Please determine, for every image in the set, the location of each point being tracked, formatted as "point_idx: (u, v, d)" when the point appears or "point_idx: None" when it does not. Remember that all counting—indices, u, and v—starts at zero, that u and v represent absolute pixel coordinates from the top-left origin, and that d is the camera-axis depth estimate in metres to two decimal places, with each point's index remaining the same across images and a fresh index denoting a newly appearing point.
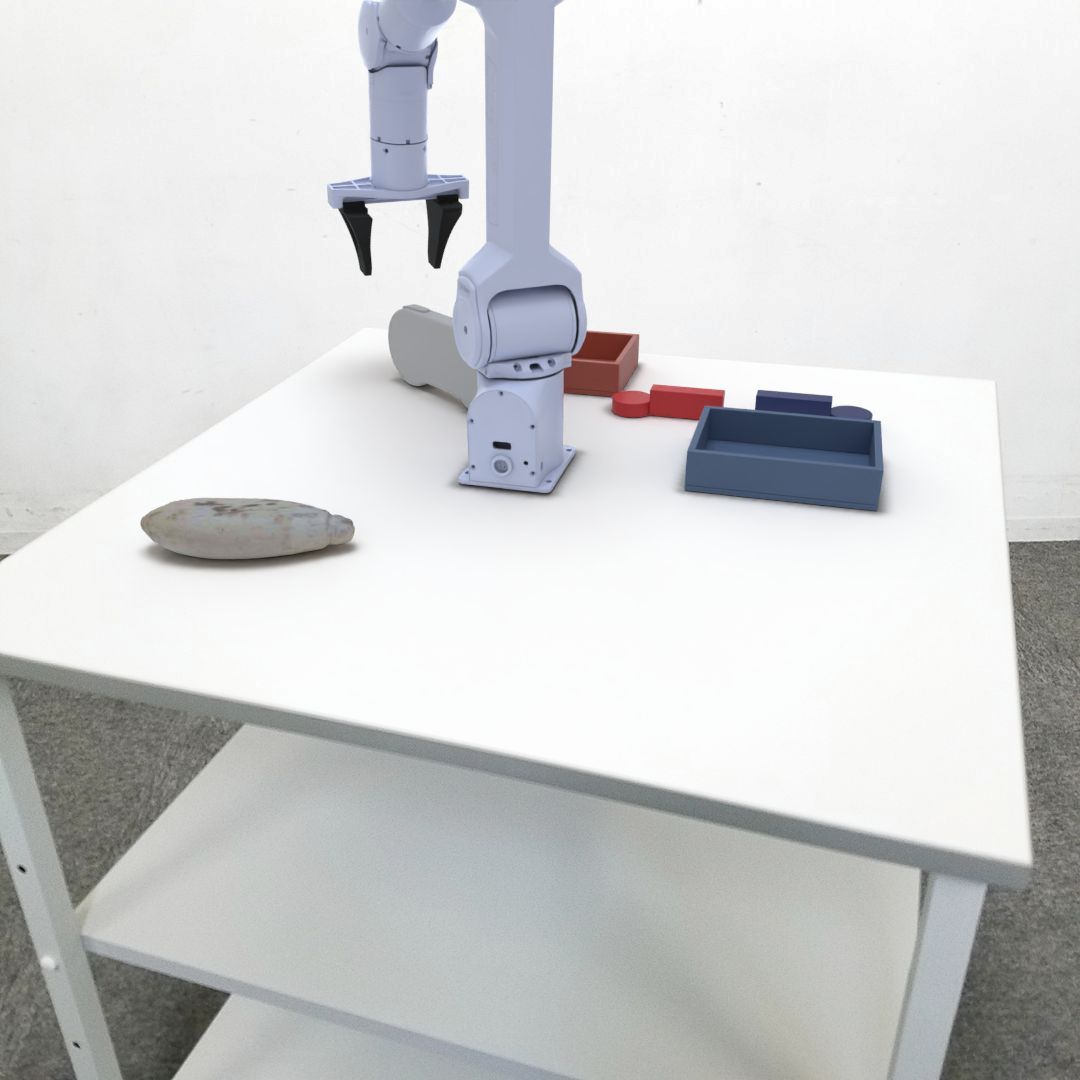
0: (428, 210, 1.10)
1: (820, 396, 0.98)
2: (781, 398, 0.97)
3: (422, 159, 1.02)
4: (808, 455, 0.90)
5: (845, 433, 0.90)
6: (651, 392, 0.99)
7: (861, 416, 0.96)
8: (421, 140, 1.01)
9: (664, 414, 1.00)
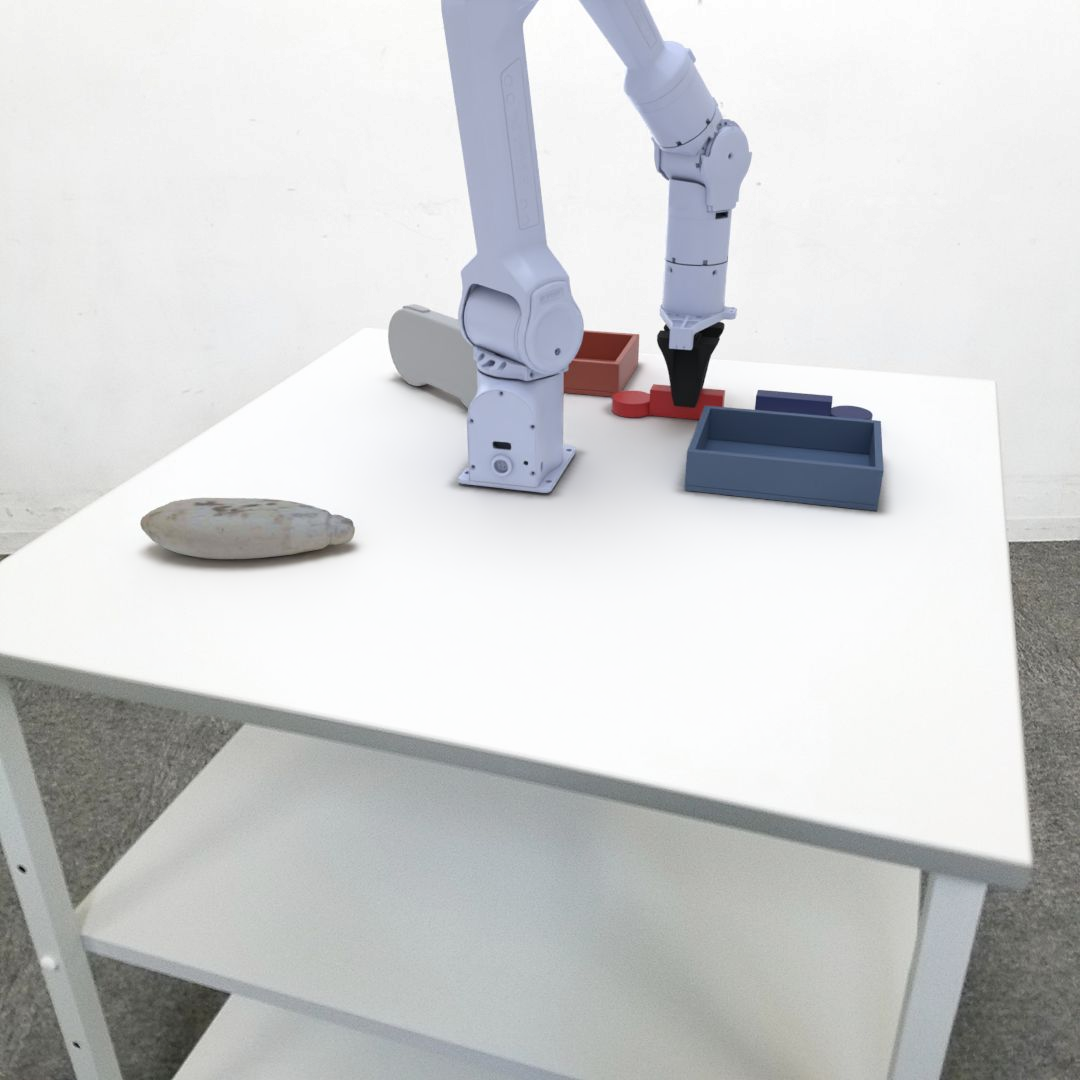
0: None
1: (820, 396, 0.98)
2: (781, 398, 0.97)
3: (667, 280, 0.93)
4: (808, 455, 0.90)
5: (845, 433, 0.90)
6: (651, 392, 0.99)
7: (861, 416, 0.96)
8: (689, 263, 0.91)
9: (664, 414, 1.00)
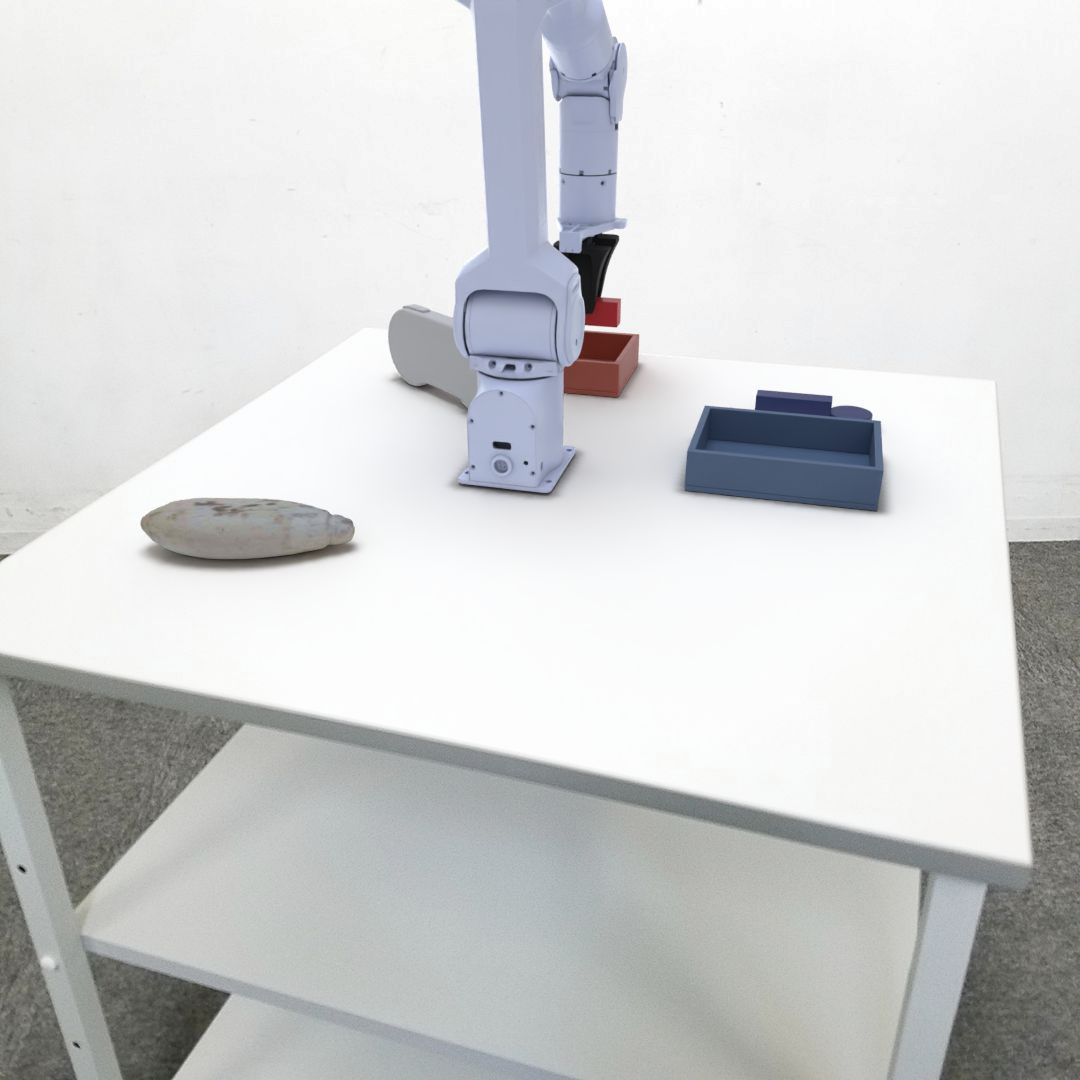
0: None
1: (820, 396, 0.98)
2: (781, 398, 0.97)
3: (560, 191, 1.01)
4: (808, 455, 0.90)
5: (845, 433, 0.90)
6: None
7: (861, 416, 0.96)
8: (598, 173, 0.99)
9: None
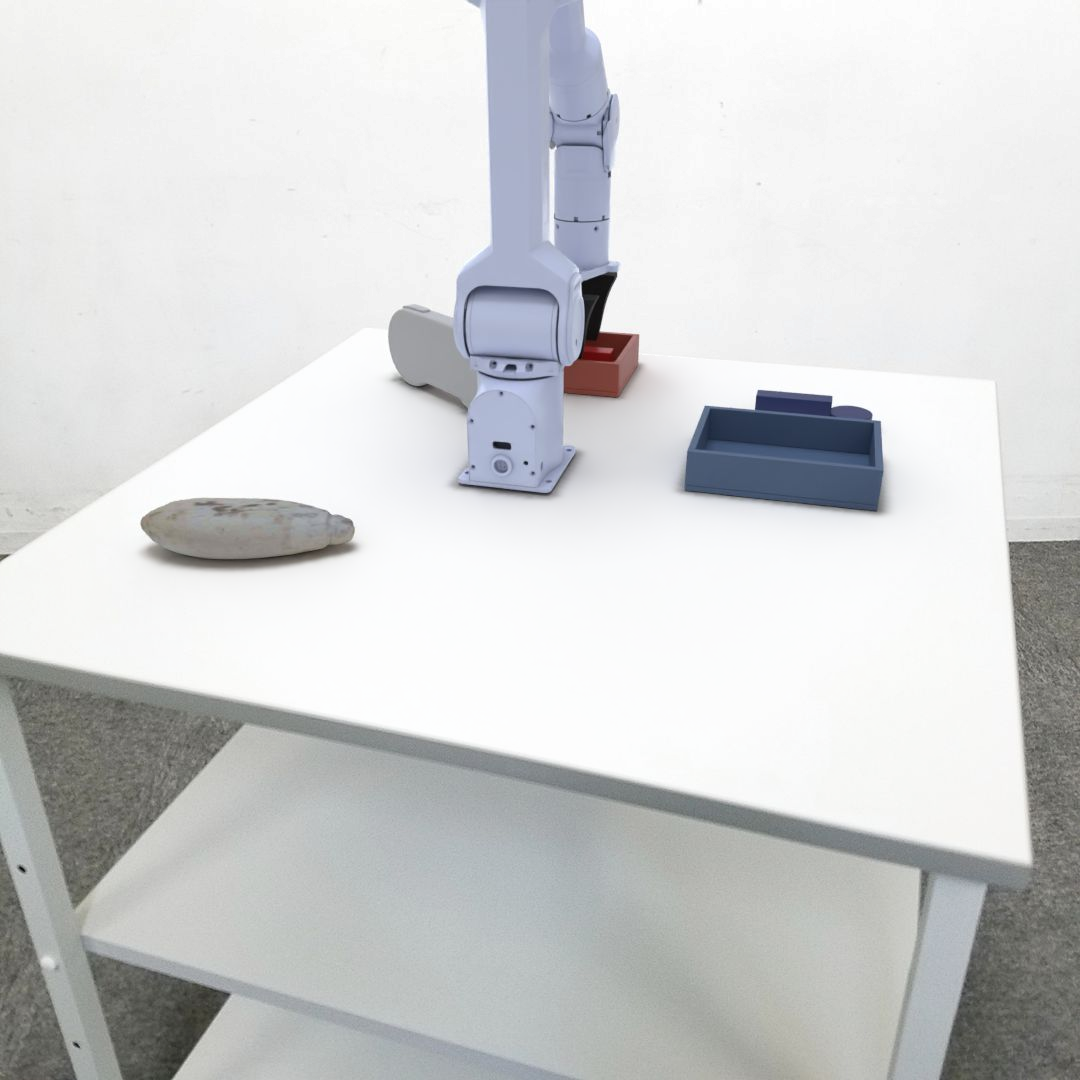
0: None
1: (820, 396, 0.98)
2: (781, 398, 0.97)
3: (555, 236, 1.03)
4: (808, 455, 0.90)
5: (845, 433, 0.90)
6: None
7: (861, 416, 0.96)
8: (592, 219, 1.01)
9: None
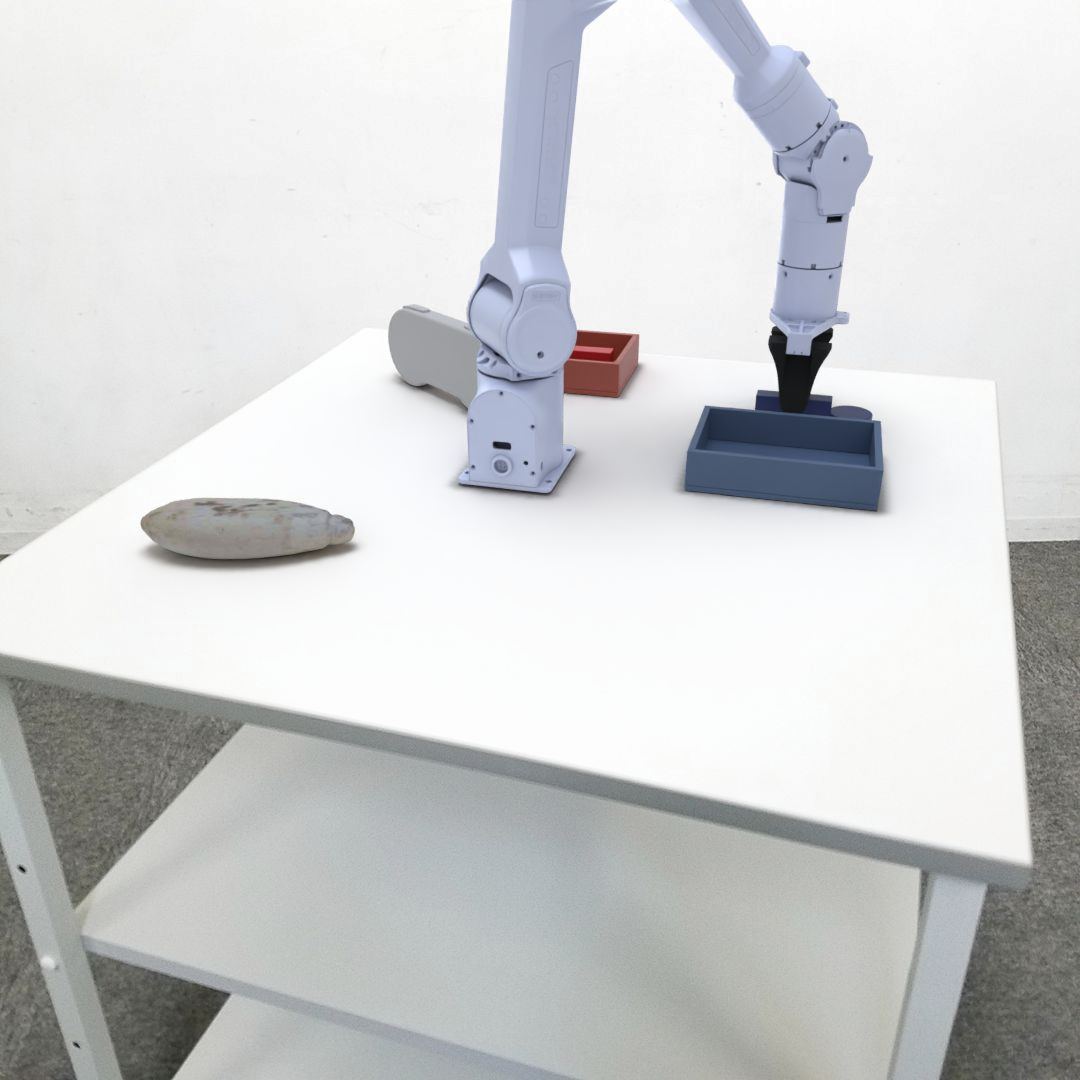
0: None
1: (820, 396, 0.98)
2: None
3: (780, 284, 0.92)
4: (808, 455, 0.90)
5: (845, 433, 0.90)
6: None
7: (861, 416, 0.96)
8: (797, 266, 0.90)
9: None
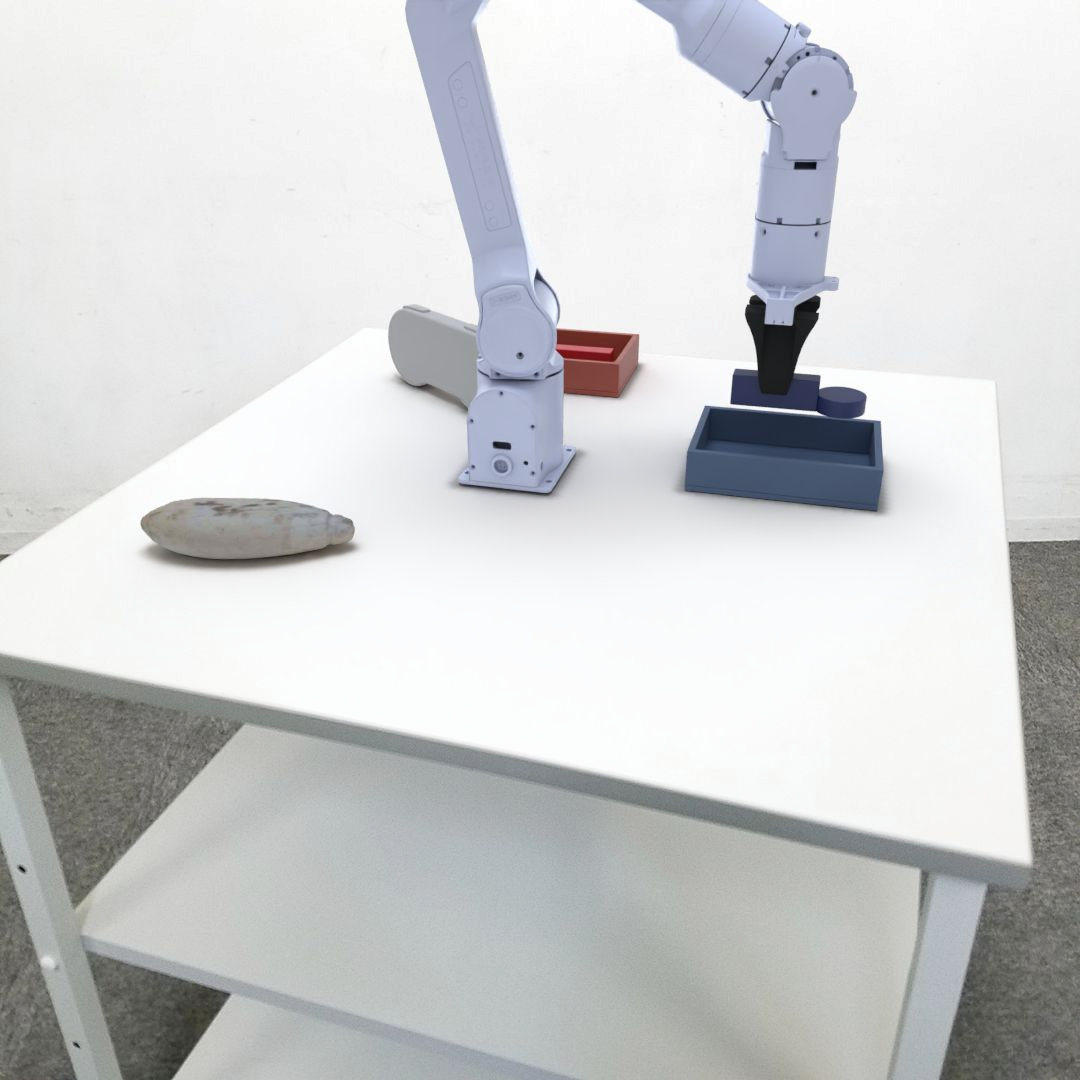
0: None
1: (806, 375, 0.85)
2: None
3: (758, 243, 0.79)
4: (808, 455, 0.90)
5: (845, 433, 0.90)
6: None
7: (853, 398, 0.83)
8: (764, 219, 0.78)
9: None
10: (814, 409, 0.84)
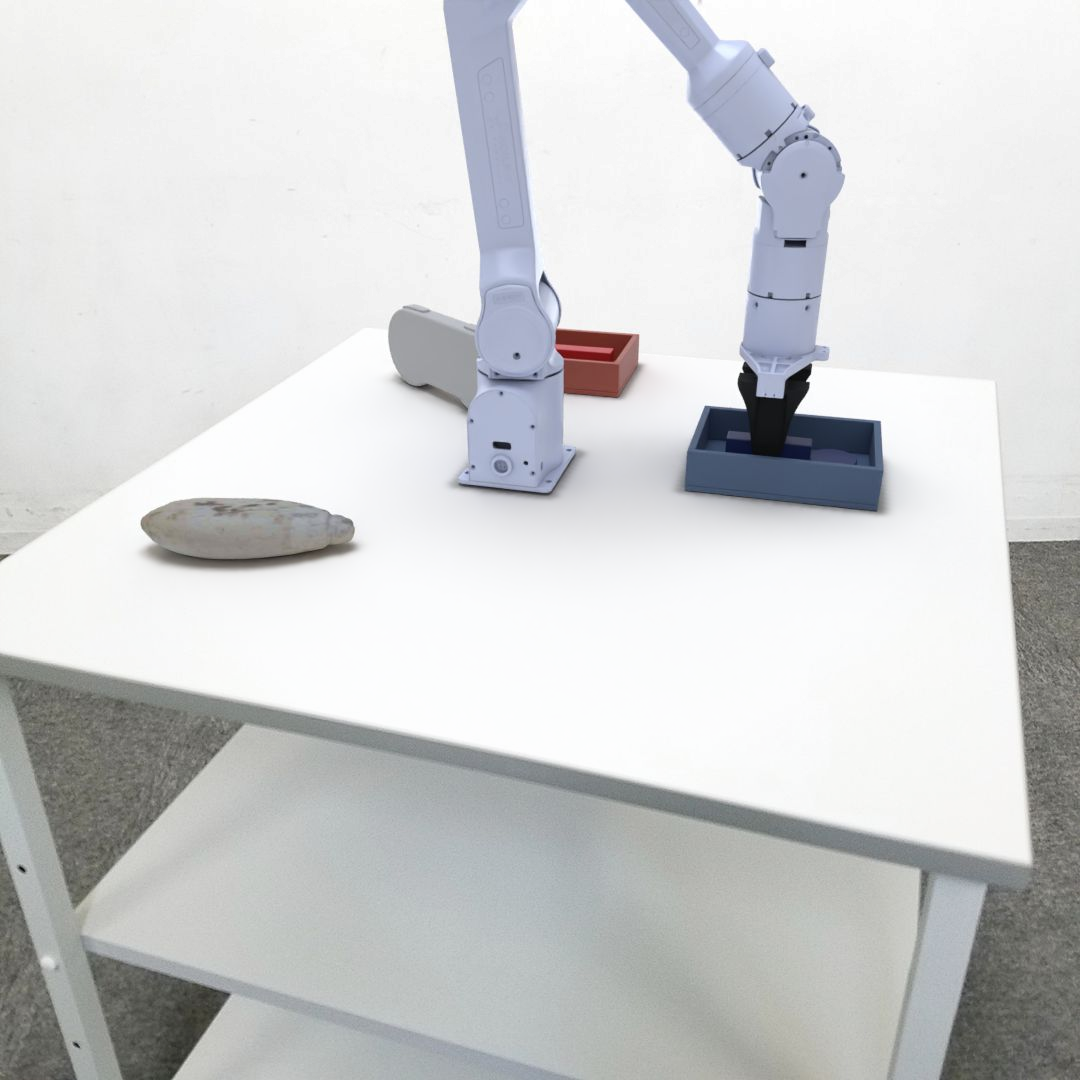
0: None
1: (798, 439, 0.87)
2: None
3: (751, 315, 0.81)
4: None
5: (845, 433, 0.90)
6: None
7: (844, 463, 0.85)
8: (755, 292, 0.80)
9: None
10: None
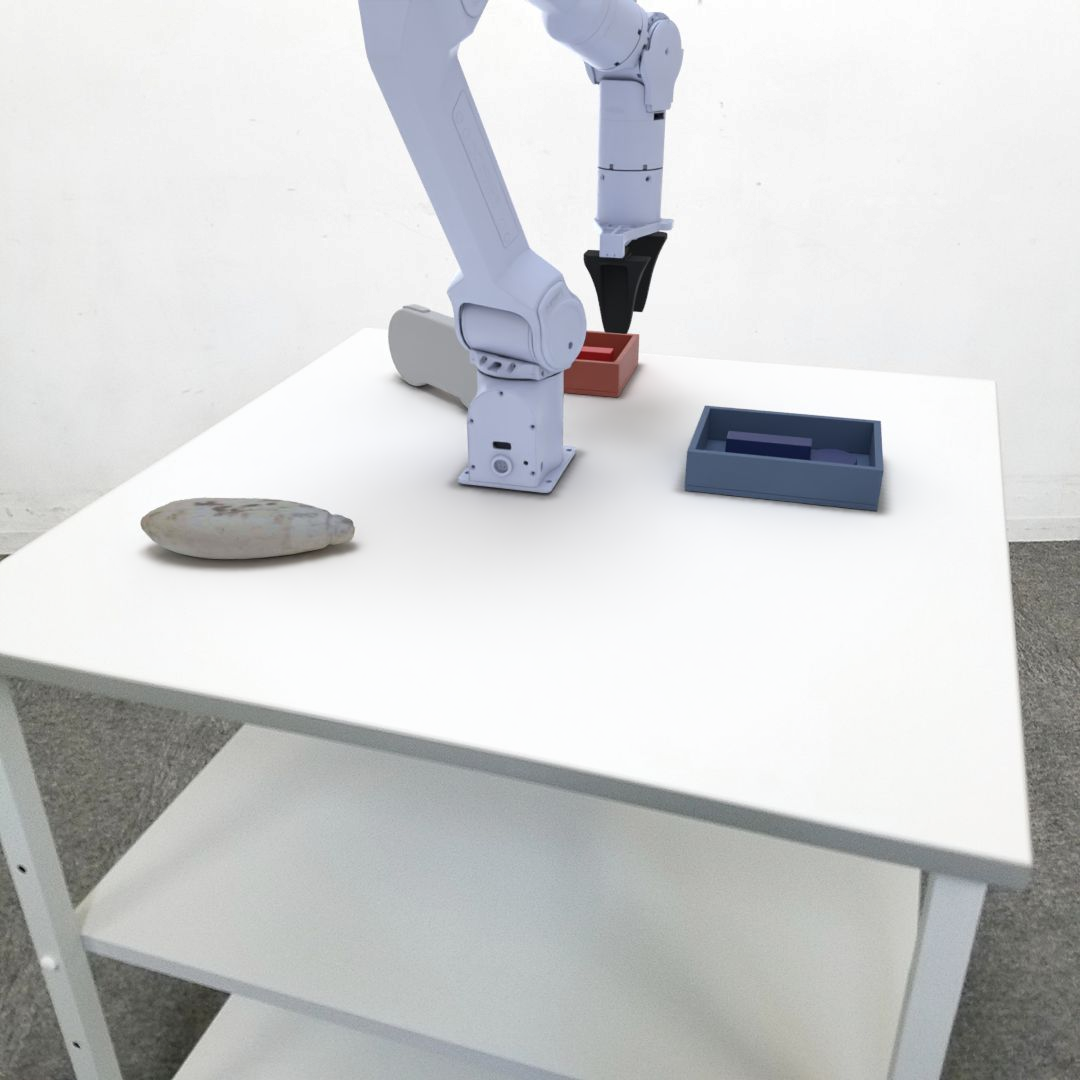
0: None
1: (798, 439, 0.87)
2: (754, 441, 0.86)
3: (599, 188, 0.90)
4: None
5: (845, 433, 0.90)
6: None
7: (844, 463, 0.85)
8: (629, 168, 0.87)
9: None
10: None
